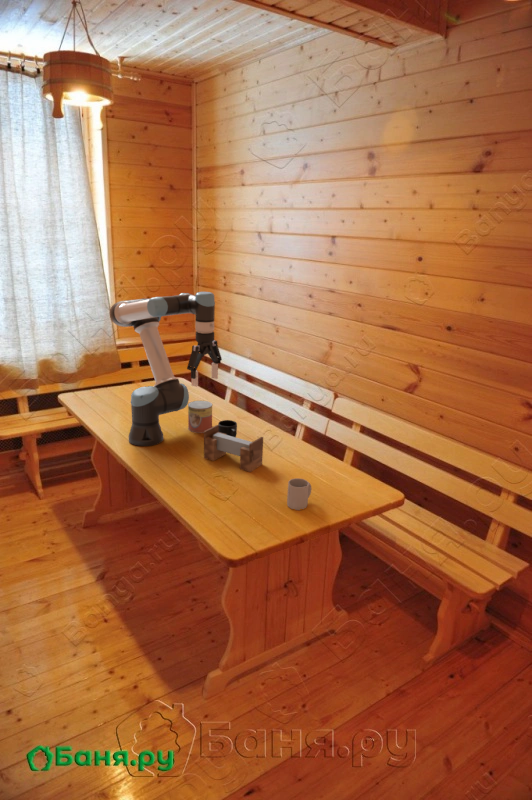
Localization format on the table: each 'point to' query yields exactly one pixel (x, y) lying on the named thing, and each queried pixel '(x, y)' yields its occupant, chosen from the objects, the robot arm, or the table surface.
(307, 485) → the cup
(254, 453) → the post foot
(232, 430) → the mug
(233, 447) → the rail
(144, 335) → the robot arm
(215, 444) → the post head
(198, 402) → the canned food
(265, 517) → the table surface
